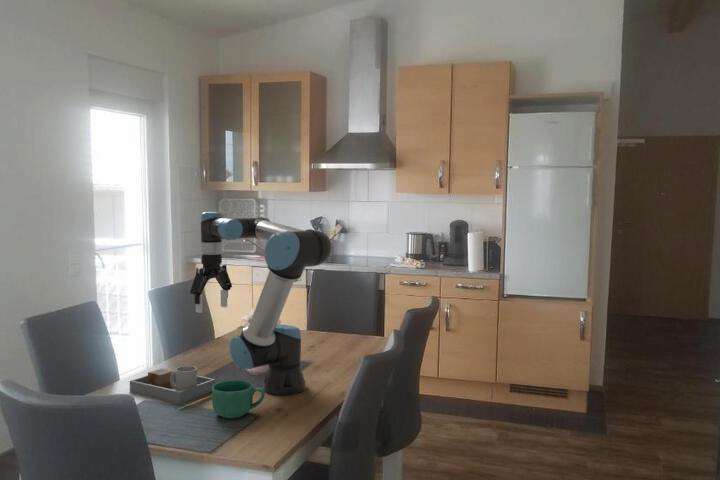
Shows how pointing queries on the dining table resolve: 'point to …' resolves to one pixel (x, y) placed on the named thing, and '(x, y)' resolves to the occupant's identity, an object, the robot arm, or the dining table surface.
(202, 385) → the gray tray
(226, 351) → the dining table surface
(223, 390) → the mug
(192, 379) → the cup
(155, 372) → the walnut block
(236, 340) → the robot arm
